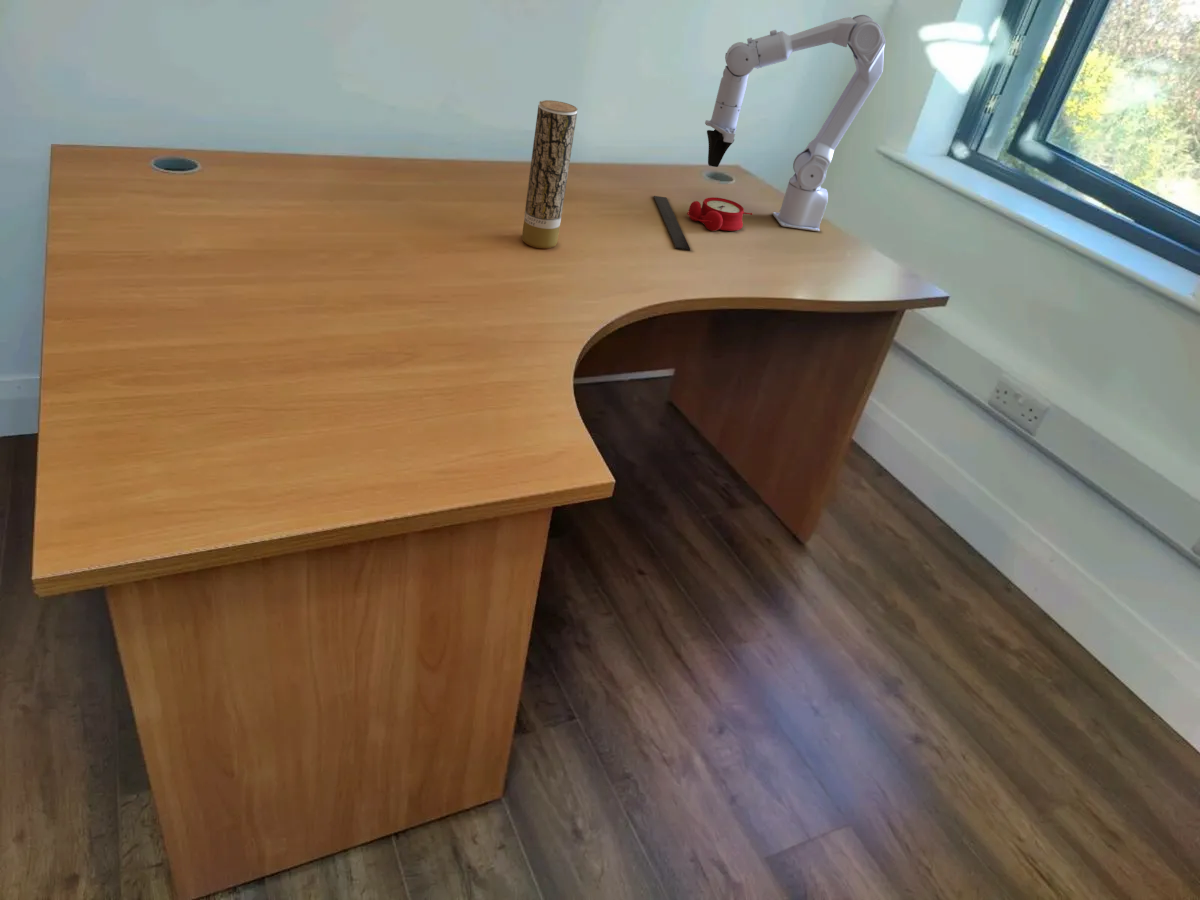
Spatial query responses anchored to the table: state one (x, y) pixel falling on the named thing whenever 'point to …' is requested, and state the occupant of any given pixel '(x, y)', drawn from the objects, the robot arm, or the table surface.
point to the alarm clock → (717, 214)
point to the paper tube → (548, 173)
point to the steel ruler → (671, 223)
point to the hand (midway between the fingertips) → (712, 165)
